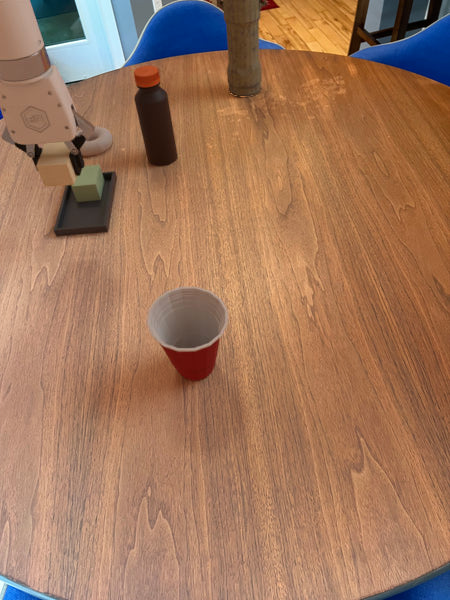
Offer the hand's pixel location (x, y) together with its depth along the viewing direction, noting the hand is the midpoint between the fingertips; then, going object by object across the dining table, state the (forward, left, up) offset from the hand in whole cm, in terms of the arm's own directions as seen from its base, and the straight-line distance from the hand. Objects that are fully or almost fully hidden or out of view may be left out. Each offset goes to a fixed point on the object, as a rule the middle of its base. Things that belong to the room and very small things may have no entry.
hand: (62, 171), depth 81 cm
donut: (-3, +33, -15) cm, 36 cm away
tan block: (0, 0, 0) cm, 0 cm away
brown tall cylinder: (+35, +55, -15) cm, 67 cm away
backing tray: (-1, +10, -15) cm, 18 cm away
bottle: (+14, +25, -15) cm, 32 cm away
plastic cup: (+21, -31, -15) cm, 41 cm away
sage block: (-1, +14, -15) cm, 21 cm away
